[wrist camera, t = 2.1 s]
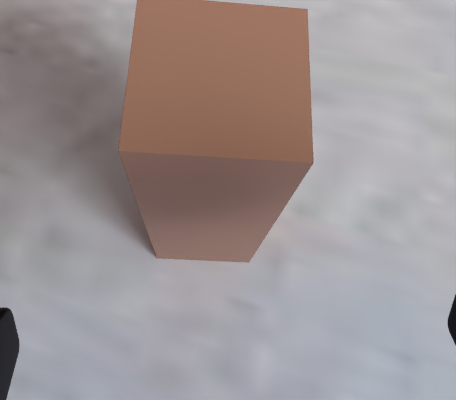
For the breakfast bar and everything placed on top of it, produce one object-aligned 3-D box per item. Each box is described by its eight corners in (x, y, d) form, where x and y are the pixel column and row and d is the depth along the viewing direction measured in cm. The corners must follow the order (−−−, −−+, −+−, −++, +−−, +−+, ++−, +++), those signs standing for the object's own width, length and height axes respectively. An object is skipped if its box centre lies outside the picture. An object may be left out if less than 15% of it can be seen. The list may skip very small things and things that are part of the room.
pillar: (249, 262, 22) (313, 163, 10) (156, 258, 21) (118, 151, 10) (250, 177, 23) (307, 9, 12) (164, 172, 23) (137, -6, 11)
